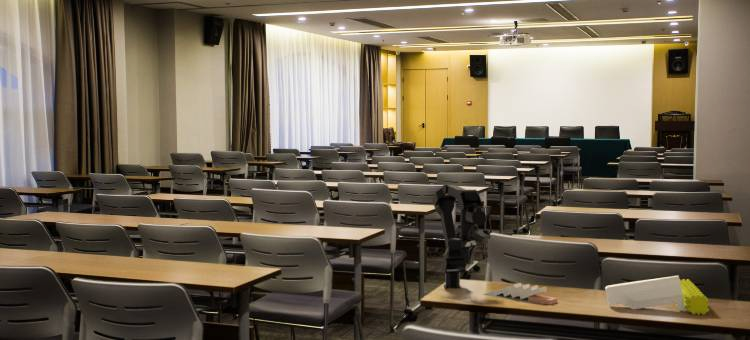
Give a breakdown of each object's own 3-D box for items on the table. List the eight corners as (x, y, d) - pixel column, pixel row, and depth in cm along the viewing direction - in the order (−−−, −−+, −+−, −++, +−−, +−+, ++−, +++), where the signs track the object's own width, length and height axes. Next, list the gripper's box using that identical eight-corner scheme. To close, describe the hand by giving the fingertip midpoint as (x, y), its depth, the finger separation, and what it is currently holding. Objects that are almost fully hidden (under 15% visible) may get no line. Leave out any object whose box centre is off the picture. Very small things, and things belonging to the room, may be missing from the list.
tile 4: (519, 295, 280) (539, 288, 275) (526, 293, 284) (546, 286, 278) (520, 299, 280) (540, 292, 274) (527, 297, 284) (547, 290, 278)
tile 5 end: (528, 296, 278) (550, 300, 272) (535, 294, 282) (557, 298, 275) (528, 300, 278) (550, 304, 272) (535, 298, 282) (557, 302, 276)
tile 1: (494, 291, 288) (513, 284, 282) (502, 289, 291) (520, 282, 286) (496, 295, 287) (515, 288, 282) (503, 293, 291) (522, 286, 285)
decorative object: (692, 296, 290) (693, 278, 290) (710, 317, 258) (711, 296, 258) (672, 295, 292) (673, 277, 292) (687, 315, 260) (688, 295, 259)
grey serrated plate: (482, 295, 289) (482, 294, 289) (495, 292, 296) (495, 290, 296) (538, 305, 273) (538, 303, 273) (551, 301, 279) (551, 300, 279)
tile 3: (510, 294, 283) (530, 287, 277) (518, 292, 287) (537, 285, 281) (512, 298, 282) (531, 290, 277) (519, 296, 286) (538, 289, 280)
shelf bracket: (686, 313, 263) (679, 277, 263) (612, 323, 269) (605, 288, 269) (684, 309, 268) (677, 274, 268) (611, 319, 274) (604, 285, 274)
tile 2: (502, 292, 285) (521, 285, 280) (510, 290, 289) (529, 283, 283) (504, 296, 285) (523, 289, 279) (511, 294, 288) (530, 287, 283)
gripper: (471, 226, 277) (470, 269, 277) (499, 222, 290) (499, 263, 291) (446, 223, 284) (446, 265, 285) (475, 220, 298) (475, 259, 299)
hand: (467, 263), depth 290 cm, fingers closed
